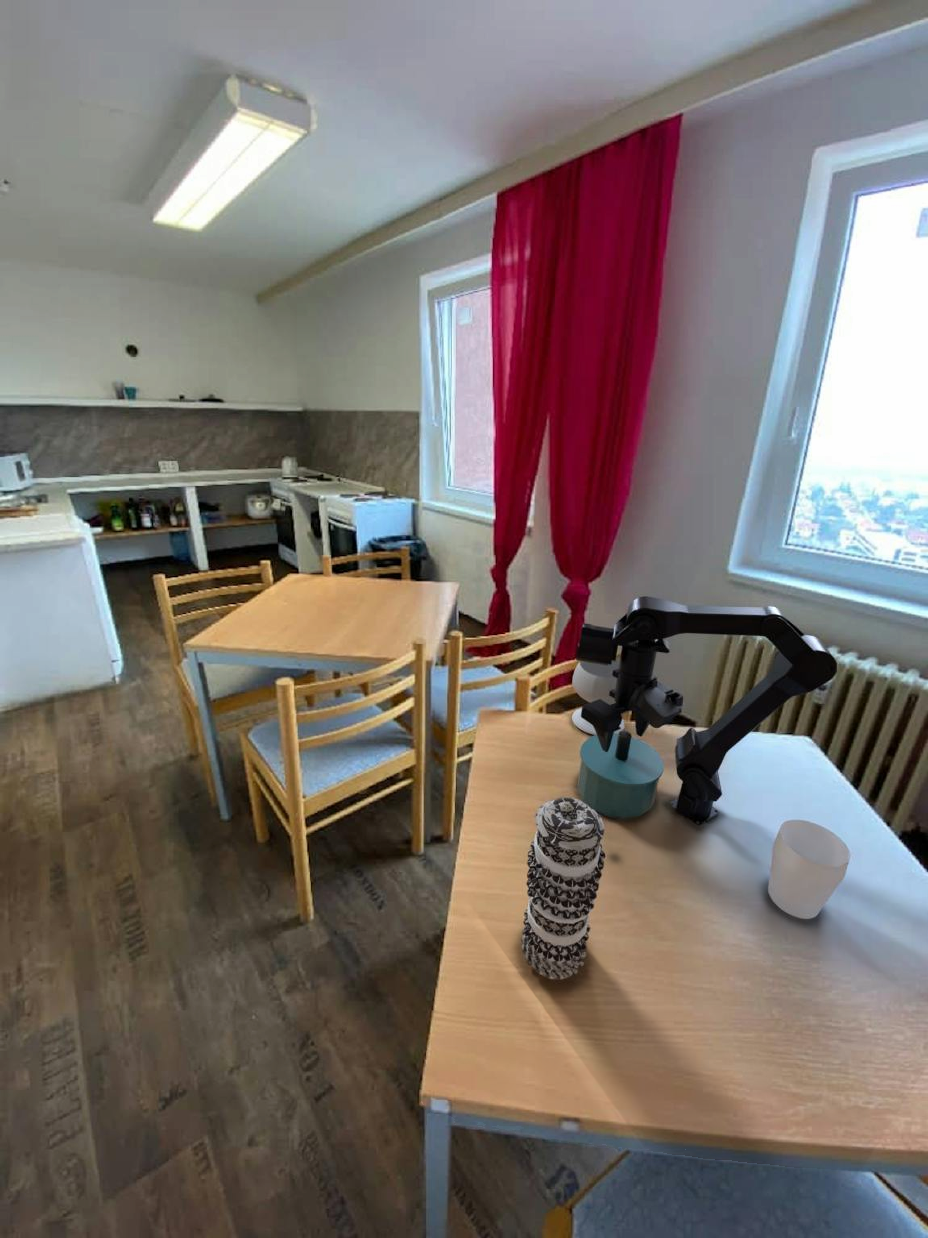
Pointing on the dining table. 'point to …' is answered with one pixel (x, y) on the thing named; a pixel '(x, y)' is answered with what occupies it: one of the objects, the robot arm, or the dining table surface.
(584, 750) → the bin lid
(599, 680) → the chalice
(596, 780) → the bin
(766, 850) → the dining table surface
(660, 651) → the robot arm
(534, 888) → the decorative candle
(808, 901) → the cup
